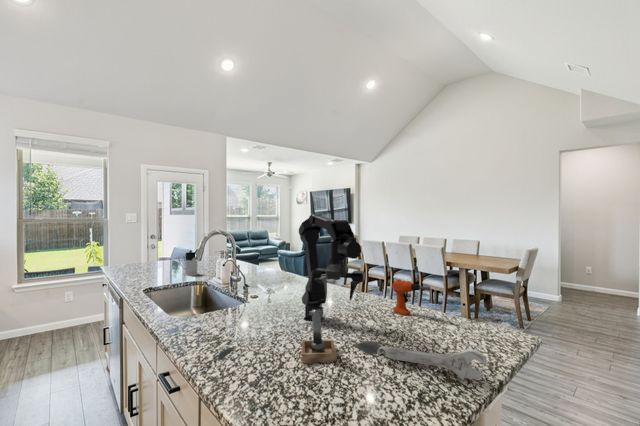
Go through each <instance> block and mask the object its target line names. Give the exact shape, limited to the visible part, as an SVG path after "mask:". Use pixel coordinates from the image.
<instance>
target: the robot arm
mask: <svg viewBox="0 0 640 426" xmlns="http://www.w3.org/2000/svg"><path fill="white" fill-rule="evenodd" d="M322 230H326V234H328V235H329V236H330V237H329V238H328V239H327V241H328V242H330V255H329V256H330V258H329V263H328V265H327V266H326V267H325V268H320V266H319V264H320V263H319V257H318V247H317V246H318V245H317V243H318V242H319V239H320V233H321V231H322ZM298 234H299V238H300V241H301V242H302V244H303V245H304V249H305V258H306V267H307V268H306V269H307V278H308V279H307V282H306V285H305V291H304V293H303V295H302V296H301V302H302V304H303V305H304V306H305V307H304V311H305V312H304V315H305V316H304V317H303V320H305V321H311V322H312V315H309V311H312V310H313V309H320V311H321V310H323V311H324V306H323V304H324V305H325V304H326V301H327V297H328V296H327V295H328V280H334V281H339V280H341V278H343V279H345V278H346V279H351V281H350V289H349V301H352V300H353V296H354V294H355V290H356V288H357V286H358V285H360V283H362V282H364V281H365V280H366V272H365V271H364V270H353V271H352V272H348V268H347V261H348V258H349V259H353V260H355V259H357V258H359V257H360V255H361V253H362V247H361V244H360V243H359V242H358V241H357V238H356V237H355V233H354V232H353V230H352V227H351V224H350V223H349V221H348V220H346V219H332V218H330V217H326V216H324V215H323V214H311V215H309V217H308V218H307V219H305V220H304V221H303V222H302V223H301V224H300V226H299V228H298ZM323 317H324V313H323V314H321V319H322V318H323Z"/></svg>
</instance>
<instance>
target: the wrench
mask: <svg viewBox="0 0 640 426" xmlns="http://www.w3.org/2000/svg"><path fill="white" fill-rule="evenodd" d="M380 349H383V350H385V351H384V352H385V355H384V357H385V358H389V359H391V360H397V361H403V362H407V363H415V364H422V365H429V366H435V367H440V368H445V369H447V370H449V371H451V372H452V373H454V374H456V375H457V378H458V379H461V381H465V379H470V380H476V379H481V378H483V377H484V373H483V372H481V371H479V370H477V369H475V368H473V367H472V366H471V362H473V361H474V360H475V361H478V363H481V364H483V365H485V366H486V365H487V362H488V360H487V358H486V356H485V355H484V354H483V353H481V352H480V351H478V350H477V349H473V348H467V349H464V350H461V351H458V352H454V353H449V354H438V353H432V352H426V351H420V350H413V349H407V348H398V347H393V346H391V347H390V346H385V345H381V347H380V348H379V349H378V350H377V353H376V354H377V356H380V355H381V354H382V352H381V351H380Z"/></svg>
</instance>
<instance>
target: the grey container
mask: <svg viewBox="0 0 640 426" xmlns="http://www.w3.org/2000/svg"><path fill="white" fill-rule="evenodd" d="M180 256H183V260H184V262H185V263H184V264H185V265H184V266H185V267H184V266H183V265H182V263H181V261H180V259H178V262H179V265H180V266H181V267H182V268H183V270H185V271H184V276H185V277H189V276H190V277H191V276H197V275H199V273H198V260H197V261H196V260H195V252H190V251H189V252H185V255H184V254H179V255H178V258H180Z"/></svg>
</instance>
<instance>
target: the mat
mask: <svg viewBox="0 0 640 426" xmlns="http://www.w3.org/2000/svg"><path fill="white" fill-rule="evenodd" d="M381 346H382V345H381V344H379V343H377V342H375V341H373V340H369V341H365V342H362V343H358V344H356V345H353V347H354V348H356V349H358V350H360V351H361V352H363V353H365V354H367V355H368V356H372V355H376V354H378V353H377V350H378V349H379V348H380V347H381ZM380 351H381V353H382V352H385V350H383V349H380Z"/></svg>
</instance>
